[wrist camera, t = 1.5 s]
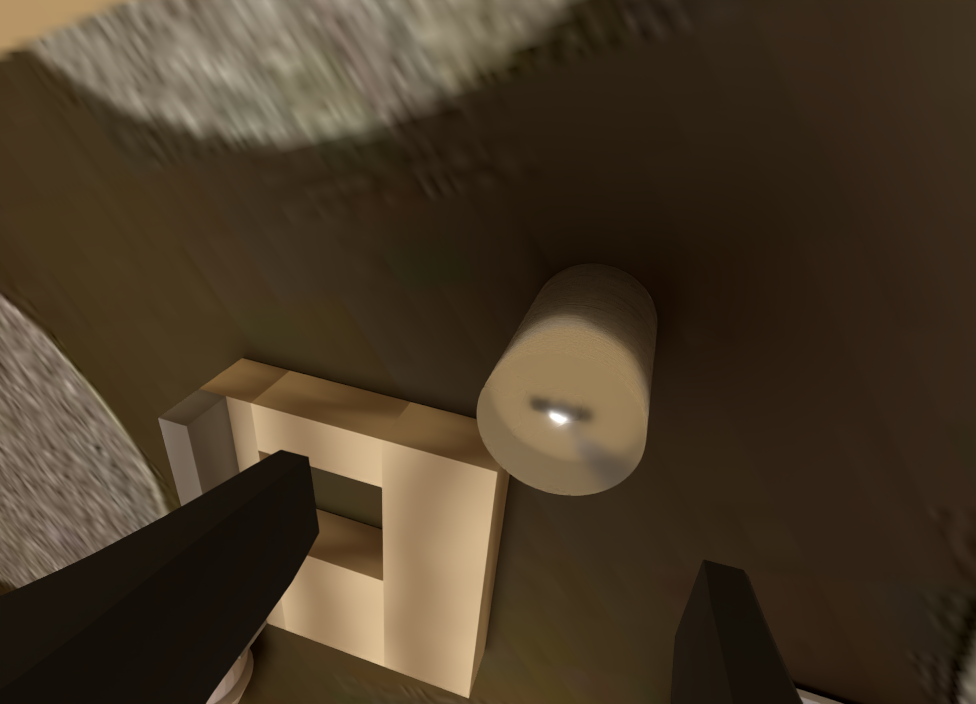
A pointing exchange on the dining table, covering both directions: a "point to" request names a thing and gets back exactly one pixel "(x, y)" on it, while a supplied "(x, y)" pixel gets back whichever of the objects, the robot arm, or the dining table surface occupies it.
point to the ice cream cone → (234, 681)
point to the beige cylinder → (574, 384)
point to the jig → (353, 545)
